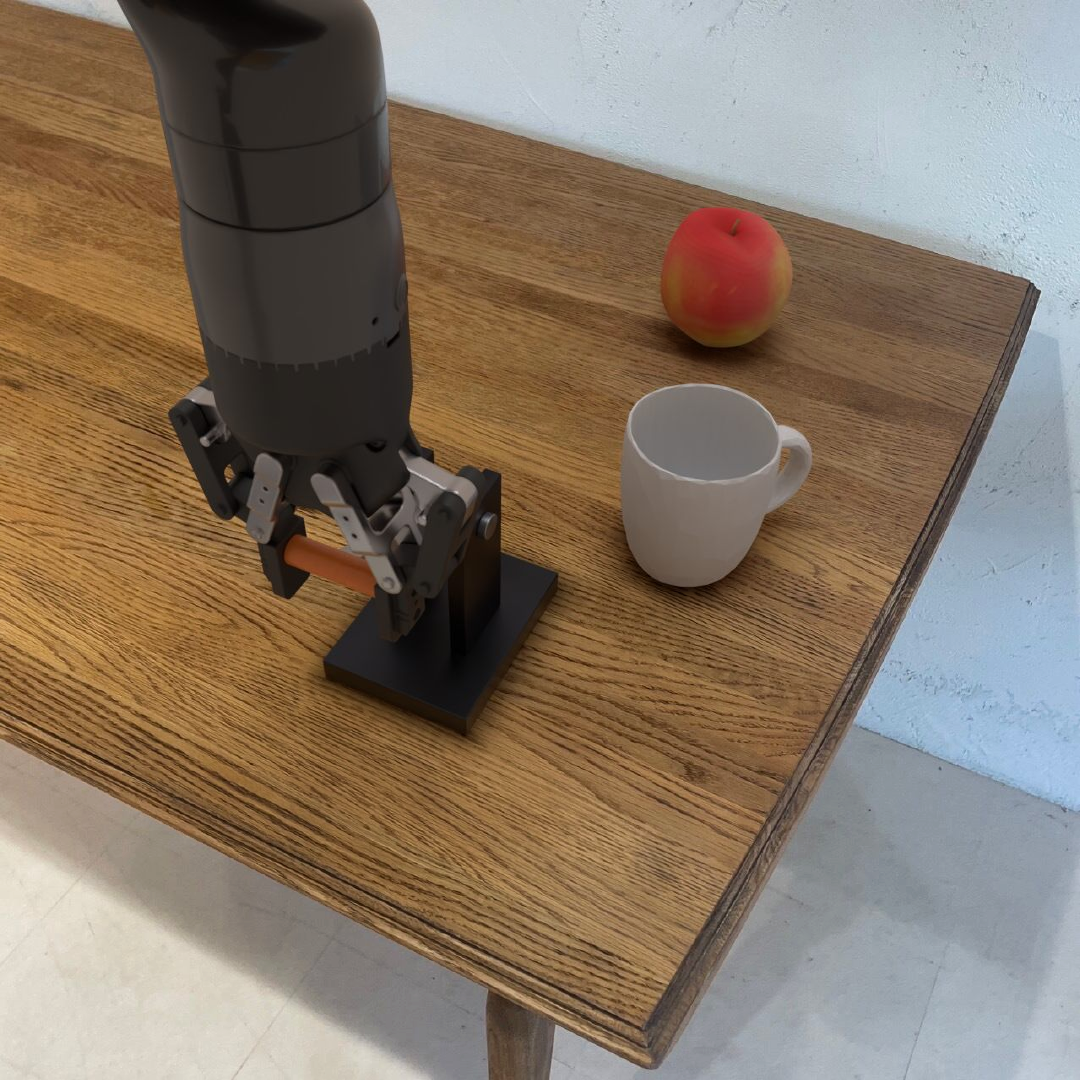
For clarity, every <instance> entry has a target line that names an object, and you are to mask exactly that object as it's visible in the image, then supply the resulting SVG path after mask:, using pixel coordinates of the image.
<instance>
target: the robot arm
mask: <svg viewBox="0 0 1080 1080" xmlns="http://www.w3.org/2000/svg"><path fill="white" fill-rule="evenodd" d="M116 2H117V4H118V6H119V7H120V9H121V11H122V13H123V15H124V17H125V19H126V20H127V22H128V24H129V26H130V28H131V29H132V32H133V33H134V35H135V37H136V39H137V41H138V43H139V45H140V47H141V49H142V51H143V53H144V55H145V57H146V59H147V61H148V64H149V67H150V69H151V74H152V80H153V86H154V91H155V97H156V100H157V107H158V112H159V118H160V122H161V126H162V131H163V136H164V141H165V145H166V150H167V154H168V159H169V164H170V168H171V172H172V178H173V182H174V187H175V191H176V196H177V203H178V215H179V233H180V245H181V252H182V256H183V257H182V258H183V263H184V268H185V272H186V273H185V274H186V277H187V282H188V286H189V291H190V295H191V300H192V303H193V308H194V312H195V318H196V322H197V327H198V331H199V336H200V340H201V344H202V345H201V346H202V350H203V353H204V358H205V362H206V363H205V364H206V367H207V372H208V376H206V377H205V378H204V379H203V380H201V381H200V382H199V383H198V384H197V385H196V386H195V387H193V388H192V389H191V390H190V391H189V392H188V393H186V394H185V395H184V396H183V397H182V398H181V399H180V400H178V402H177V403H176V404H174V405H173V406H172V407H171V408H170V409H169V410H168V412H167V417H168V419H169V421H170V423H171V426H172V428H173V430H174V433H175V434H176V436H177V438H178V441H179V443H180V445H181V447H182V449H183V452H184V454H185V456H186V458H187V460H188V462H189V465H190V466H191V469H192V470H193V473H194V475H195V478H196V480H197V482H198V484H199V486H200V488H201V491H202V493H203V495H204V497H205V499H206V501H207V503H208V506H209V508H210V509H211V511H212V513H214V515H215V516H216V517H218V518H219V519H221V520H224V521H231V520H232V519H233V518H234V517H236V519H239V520H240V521H241V522H243V523H244V524H245V530H246V533H247V535H248V536H249V537H250V538H251V539H252V540H254V541H255V542H256V544H257V549H258V554H259V557H260V563H261V568H262V571H263V574H264V576H265V578H266V580H267V581H268V582H270V584H271V589H272V593H273V595H274V596H278V597H280V598H283V599H285V600H286V601H287V600H288V601H289V600H291V599H292V598H293V597H294V596H295V595H296V594H297V592H298V591H300V589H301V588H302V587H303V585H304V584H305V583H306V582H307V581H308V580H309V578H310V576H311V574H312V573H309V572H307V571H304V570H302V569H299V568H296V567H294V566H291V565H289V564H287V563H286V562H285V560H284V552H285V548H286V546H287V544H288V542H289V540H290V539H291V538H292V537H293V536H294V535H297V534H299V535H302V536H305V537H307V538H308V535H307V529H306V524H305V522H306V521H305V517H304V516H302V515H298V514H295V513H296V512H297V511H298V509H300V508H301V509H302V508H303V509H308V510H309V509H310V510H315V511H318V512H320V513H322V514H323V515H325V516H327V517H329V518H331V519H332V520H335V523H336V524H337V527H338V529H339V530H340V532H341V534H342V536H343V538H344V540H345V542H346V545H348V546H349V548H350V550H351V552H352V553H354V554H362V555H364V557H365V559H366V561H367V563H368V565H369V567H370V569H371V571H372V573H373V575H374V577H375V579H376V581H377V583H376V584H375V586H374V594H375V603H376V612H377V621H378V630H379V636H380V637H382V638H384V639H387V640H389V641H392V642H396V641H397V640H398V639H399V638H400V636H401V635H402V634H403V635H405V636H407V634H408V633H409V632H410V630H411V629H412V627H413V626H414V625H415V623H416V622H417V620H418V619H419V618H420V616H421V615H422V613H423V612H424V610H425V601H424V597H426V598H435V597H436V596H437V595H438V593H439V592H440V590H441V589H442V587H443V584H444V583H445V581H446V580H447V579H448V577H449V576H450V575H451V573H452V572H453V570H454V569H455V568H456V567H457V566H458V565H459V564H460V563H461V561H462V560H463V559H464V556H465V553H466V550H467V546H468V543H469V540H470V537H471V533H472V530H473V527H474V523H475V520H476V517H477V513H478V510H479V507H480V503H481V500H482V497H483V493H484V490H485V487H486V478H485V476H484V475H483V473H482V471H481V470H480V469H479V468H477V467H475V466H472V465H463V466H461V468H459V470H458V471H457V473H456V474H454V473H452V472H450V471H448V470H446V469H444V468H442V467H440V466H438V465H437V464H436V463H435V464H433V463H431V462H429V461H427V460H425V459H424V458H423V453H422V448H421V446H422V445H421V444H420V442H419V440H418V438H417V437H416V434H415V433H414V431H413V429H412V425H411V422H410V421H411V420H410V419H411V409H412V408H411V407H412V402H413V392H414V375H413V360H412V359H413V358H412V344H411V327H410V315H409V313H410V312H409V281H408V278H407V267H406V266H407V265H406V249H405V239H404V238H405V237H404V231H403V224H402V223H403V222H402V217H401V213H400V209H399V205H398V200H397V195H396V190H395V185H394V179H393V165H392V151H391V149H392V148H391V135H390V121H389V120H390V119H389V106H388V96H387V95H388V94H387V79H386V70H385V59H384V52H383V46H382V41H381V35H380V30H379V27H378V23H377V21H376V17H375V15H374V13H373V12H372V9H371V8H370V6H369V5H368V4H367V2H366V1H365V0H116ZM228 466H230V468H231V470H232V473H233V477H232V478H231V479H230V480H229V481H228V480H227V478H226V475H225V472H226V468H227V467H228ZM410 489H411V490H412V491H413V492H414V493H415V495H416V497H417V499H418V508H419V510H420V512H421V513H420V514H419V515H418V517H417V521H418V523H419V524H420V525H423V526H426V527H425V531H424V535H423V537H422V535H421V532H420V530H419V528H418V526H417V524H416V521H415V518H414V515H415V511H416V502H415V499H414V497H413V495H412V493H411V490H410ZM393 539H394V541H395V543H396V545H397V548H396V549H395V551H394V552H392V549H391V543H392V540H393Z"/></svg>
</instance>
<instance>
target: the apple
mask: <svg viewBox="0 0 1080 1080" xmlns="http://www.w3.org/2000/svg"><path fill="white" fill-rule="evenodd" d="M793 272H794V271H793V263H792V259H791V256H790V252H789V249H788V248H787V246H786V244H785V242H784V240H783V239H782V237H781V236H780V234H779V233H778V231H777V230H776V229H775V228H774V227H773V225H772V224H771V223H769V221H767V219H765V218H763V217H761V216H759V215H758V214H755V213H753V212H751V211H747V210H743V209H739V208H734V207H725V206H723V207H722V206H720V207H719V206H717V207H716V206H715V207H704V208H698V209H696V210H694V211H691V212H690V213H689V214H688V215H687V216H686V217H685V218H684V219H683V220H682V221H681V223H680V224H679V225H678V227H677V228H676V230H675V232H674V233H673V235H672V237H671V238H670V241H669V244H668V246H667V248H666V251H665V254H664V258H663V262H662V266H661V272H660V282H659V283H660V284H659V286H660V287H659V289H660V291H659V292H660V297H661V301H662V306H663V308H664V310H665V312H666V314H667V316H668V317H669V319H670V320H671V322H672V323H673V324H674V325H675V326H676V327H677V328H678V329H679V330H680V331H682V333H684V334H685V335H687V336H688V337H689V338H691V340H693V341H695V342H696V343H698V344H700V345H702V346H705V347H708V348H734V347H738V346H742V345H745V344H748V343H750V342H752V341H754V340H756V339H758V338H759V337H760V336H761V335H763V334H764V333H765V332H766V331H767V330H768V329H769V328H770V327H771V326H772V325H773V324H775V322H776V320H777V319H778V318H779V316H780V315H781V313H782V312H783V310H784V308H785V307H786V305H787V302H788V300H789V298H790V294H791V291H792V286H793V280H794V274H793Z"/></svg>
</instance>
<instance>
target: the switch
mask: <svg viewBox="0 0 1080 1080" xmlns="http://www.w3.org/2000/svg"><path fill="white" fill-rule="evenodd" d="M413 497H414V499H415V502H416V511H415V515H414V518H415V521H416V524H417V526H418V528H419V530H420V532H421V535H422V536H423V535H424V531H425V527H426V526H423V525H420V524H419V523H418V521H417V517H418V515H419V514H420V513H421V512H420V510H419V508H418V499H417V497H416V495H415V493H414V492H413ZM396 548H397V545H396V543H395V541H394V539H393V540H392V543H391V549H392V552H394V551H395V549H396ZM284 560H285V562H286V563H287V564H289V565H291V566H294V567H296V568H299V569H302V570H304V571H307V572H309V573H311V574H312V575H314V576H317V577H320V578H322V579H325V580H327V581H330V582H333V583H335V584H338V585H341V586H343V587H346V588H348V589H350V590H353V591H356V592H358V593H361V594H364V595H365V596H368V597H370V598H372V597H373V598H375V594H374V586H375V584H376V583H377V581H376V579H375V577H374V575H373V573H372V571H371V569H370V567H369V565H368V563H367V561H366V559H365V557H364V555H362V554H354V553H352V552H351V550H350V548H349V546H348V544H346V545H345V546H343V547H340V548H336V547H334V546H331V545H328V544H326V543H323V542H321V541H319V540H315V539H312V538H310V537H308V536H307V537H305V536H302V535H299V534H297V535H294V536H293V537H292V538H291V539H290V540H289V542H288V544H287V546H286V548H285V552H284Z"/></svg>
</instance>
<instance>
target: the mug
mask: <svg viewBox="0 0 1080 1080" xmlns="http://www.w3.org/2000/svg"><path fill="white" fill-rule="evenodd" d="M783 449H789V451H790V452H789V455H788V458H787V461H786V463H785V465H784V466H783V468H782V469H781V471H779V468H780V462H781V457H782V450H783ZM620 462H621V463H620V472H619V473H620V474H619V475H620V477H619V478H620V481H619V482H620V483H619V484H620V485H619V487H620V505H621V518H622V522H623V527H624V532H625V536H626V542H627V544H628V547H629V550H630V552H631V553H632V555H633V557H634V559H635V561H636V563H637V564H638V565H639V567H641V569H642V570H643V571H644V572H645V573H646V574H648V575H649V576H650V577H651V578H652V579H654V580H656V581H658V582H660V583H663V584H667V585H670V586H675V587H681V588H682V587H683V588H695V587H696V588H697V587H701V586H706V585H710V584H713V583H715V582H717V581H720V580H722V579H723V578H725V577H726V576H728V575H729V574H730V573H731V572H732V571H734V570H735V569H736V568H737V567H738V565H739V564H740V563H741V562H742V561H743V559H744V558H745V557H746V555H747V554H748V552H749V550H750V548H751V547H752V545H753V544H754V541H755V539H756V537H757V536H758V533H759V531H760V529H761V527H762V523H763V521H764V518H765V515H767V514H770V513H772V512H774V511H775V510H777V509H779V508H780V507H781V506H783V505H784V504H786V503H787V502H788V501H789V500H791V499H792V498H793V496H795V494H796V493H798V491H800V489H801V487H802V485H803V484H804V483H805V481H806V479H807V478H808V475H809V474H810V471H811V468H812V464H813V463H812V462H813V453H812V448H811V444H810V443H809V441H808V440H807V439H806V437H805V435H804V434H803V433H801V432H800V431H798V430H796V429H795V428H793V427H790V426H787V425H784V424H782V425H781V424H780V425H778V424H777V423H776V421H775V419H774V416H772V414H771V413H770V411H769V410H768V409H767V408H766V407H764V405H763V404H761V402H760V401H758V400H756V399H755V398H753V397H751V396H750V395H748V394H746V393H744V392H742V391H740V390H737V389H734V388H731V387H729V386H725V385H719V384H715V383H714V384H713V383H694V382H693V383H691V382H689V383H683V384H677V385H669V386H665V387H661V388H658V389H657V390H654V391H652V392H649V393H647V394H645V395H644V396H643V397H641V398H640V399H639V400H638V401H636V402H635V404H634V405H633V406H632V409H630V411H629V413H628V418H627V422H626V425H625V430H624V434H623V443H622V453H621V461H620Z"/></svg>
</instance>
